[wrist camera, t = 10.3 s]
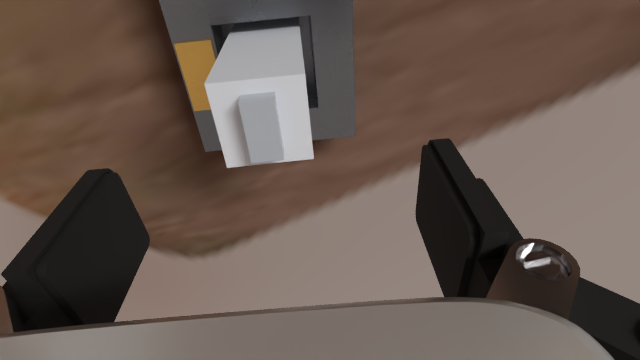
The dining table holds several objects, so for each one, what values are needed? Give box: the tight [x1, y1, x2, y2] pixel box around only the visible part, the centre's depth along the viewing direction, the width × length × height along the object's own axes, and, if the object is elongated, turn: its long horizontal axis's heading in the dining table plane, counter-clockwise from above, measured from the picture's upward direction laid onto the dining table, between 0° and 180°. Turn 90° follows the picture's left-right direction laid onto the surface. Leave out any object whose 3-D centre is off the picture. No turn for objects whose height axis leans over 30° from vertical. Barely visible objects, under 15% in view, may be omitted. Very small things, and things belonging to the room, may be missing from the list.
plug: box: [204, 18, 314, 168], centre depth 19 cm, size 4×4×11 cm
